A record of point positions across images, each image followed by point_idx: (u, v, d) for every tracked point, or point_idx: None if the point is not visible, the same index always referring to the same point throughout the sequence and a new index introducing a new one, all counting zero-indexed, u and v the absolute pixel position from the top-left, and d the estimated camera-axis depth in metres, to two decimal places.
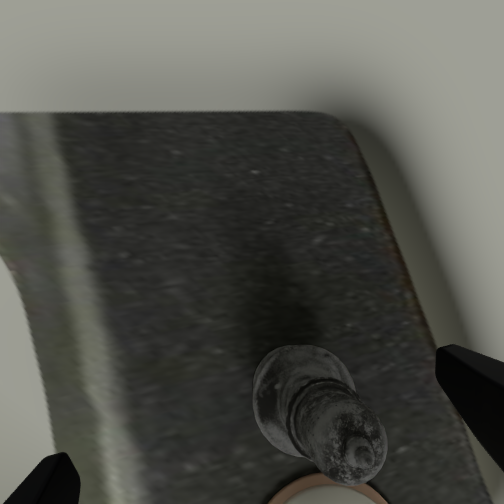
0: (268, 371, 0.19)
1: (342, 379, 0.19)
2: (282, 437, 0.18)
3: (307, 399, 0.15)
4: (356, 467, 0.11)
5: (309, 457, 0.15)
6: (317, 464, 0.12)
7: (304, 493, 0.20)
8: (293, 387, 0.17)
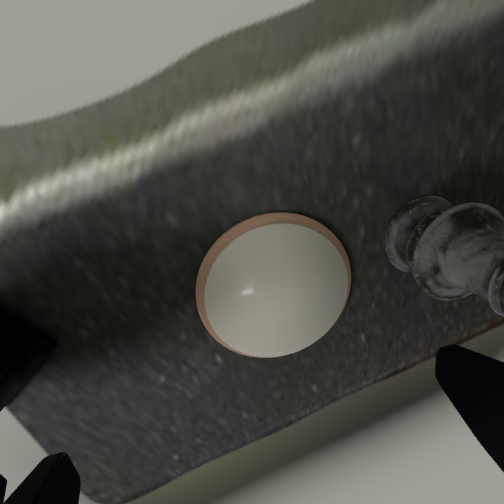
0: (493, 215, 0.19)
1: None
2: (438, 237, 0.18)
3: None
4: None
5: (498, 273, 0.15)
6: None
7: (342, 260, 0.21)
8: None
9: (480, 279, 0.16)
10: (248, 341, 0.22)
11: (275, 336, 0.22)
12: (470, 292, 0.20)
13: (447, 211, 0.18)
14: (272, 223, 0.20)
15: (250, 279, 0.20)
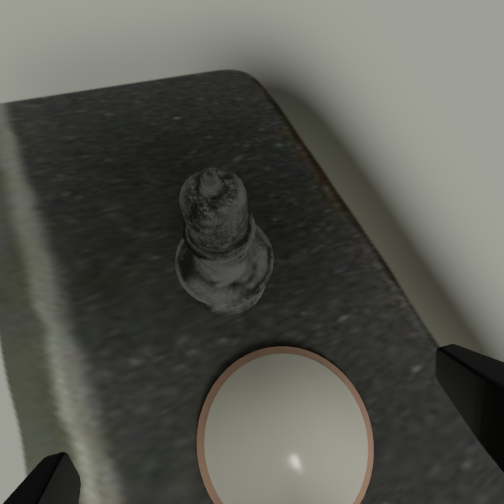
0: None
1: (256, 235, 0.21)
2: (204, 289, 0.19)
3: None
4: (210, 196, 0.13)
5: (205, 258, 0.16)
6: (184, 213, 0.14)
7: (246, 363, 0.21)
8: None
9: (222, 262, 0.17)
10: (346, 475, 0.18)
11: (338, 437, 0.19)
12: (264, 238, 0.21)
13: (181, 283, 0.20)
14: None
15: (265, 476, 0.18)
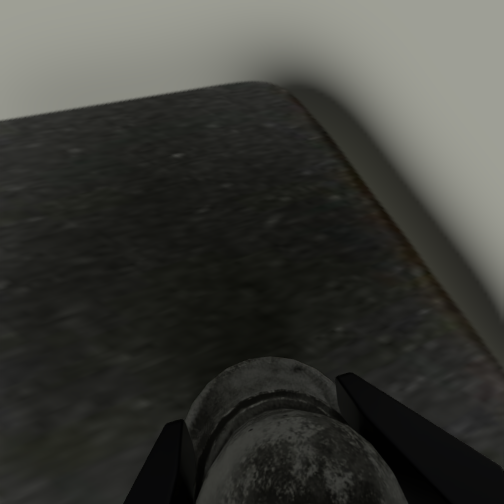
0: (198, 414, 0.11)
1: (331, 407, 0.11)
2: None
3: (226, 442, 0.07)
4: None
5: None
6: None
7: None
8: None
9: None
10: None
11: None
12: None
13: None
14: None
15: None
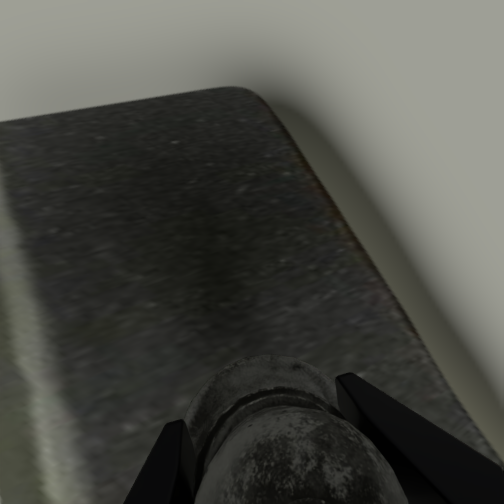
0: (198, 411, 0.11)
1: (330, 404, 0.11)
2: None
3: (226, 439, 0.07)
4: None
5: None
6: None
7: None
8: None
9: None
10: None
11: None
12: None
13: None
14: None
15: None
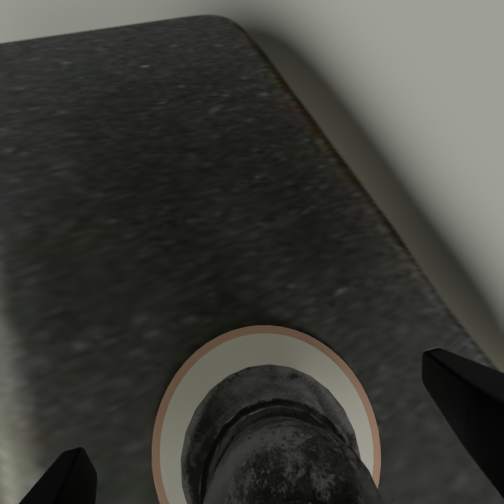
0: (201, 418, 0.12)
1: (325, 411, 0.12)
2: None
3: (228, 447, 0.07)
4: None
5: None
6: None
7: (217, 346, 0.16)
8: None
9: None
10: None
11: None
12: (340, 416, 0.12)
13: None
14: None
15: None
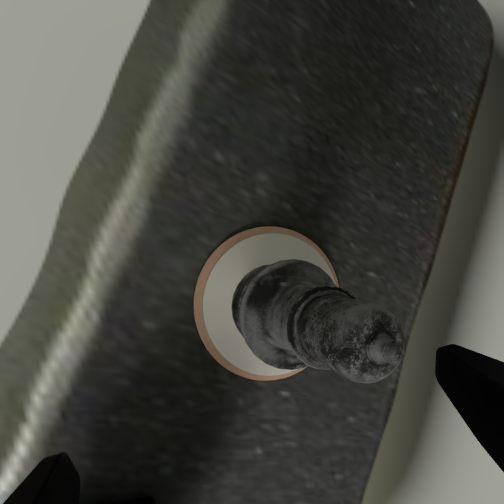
0: (281, 267, 0.18)
1: None
2: (255, 329, 0.17)
3: (330, 296, 0.14)
4: (371, 360, 0.11)
5: (294, 346, 0.14)
6: (331, 339, 0.11)
7: (292, 236, 0.22)
8: (304, 290, 0.16)
9: None
10: None
11: None
12: None
13: (241, 303, 0.18)
14: (218, 260, 0.21)
15: None
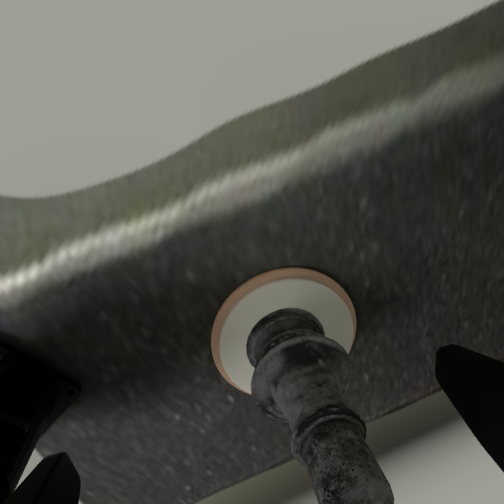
0: (329, 346, 0.18)
1: None
2: (270, 371, 0.18)
3: (356, 431, 0.15)
4: None
5: (296, 435, 0.15)
6: (342, 489, 0.12)
7: (348, 310, 0.22)
8: (334, 387, 0.17)
9: (292, 430, 0.16)
10: None
11: None
12: None
13: (279, 345, 0.18)
14: (284, 278, 0.21)
15: None
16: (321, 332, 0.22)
